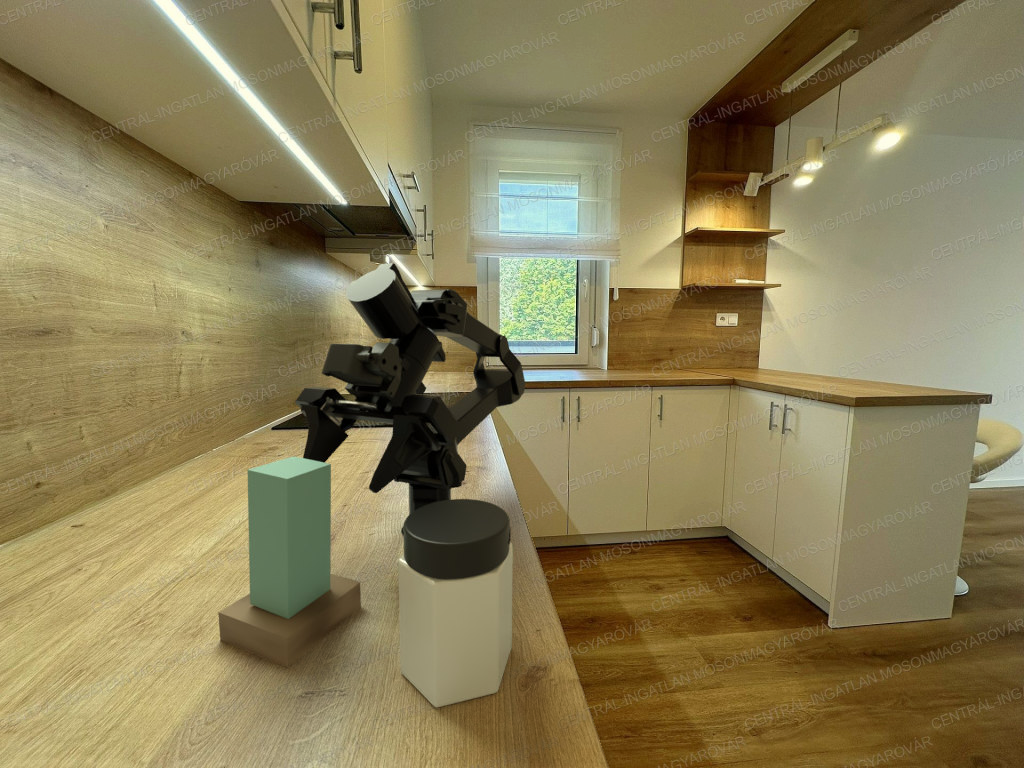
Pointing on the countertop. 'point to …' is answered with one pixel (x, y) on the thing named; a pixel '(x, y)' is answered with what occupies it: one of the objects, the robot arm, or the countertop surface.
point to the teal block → (289, 534)
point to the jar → (455, 599)
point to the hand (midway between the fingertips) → (336, 484)
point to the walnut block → (289, 623)
